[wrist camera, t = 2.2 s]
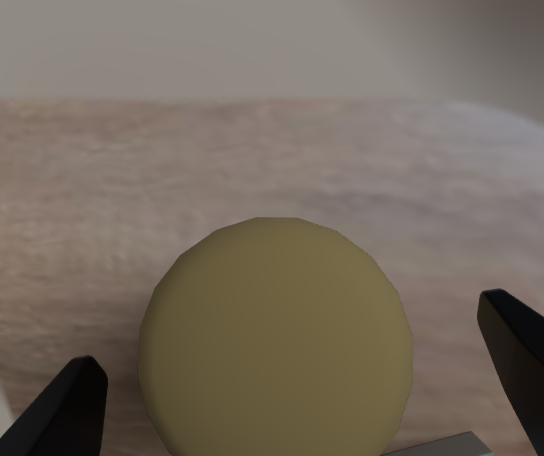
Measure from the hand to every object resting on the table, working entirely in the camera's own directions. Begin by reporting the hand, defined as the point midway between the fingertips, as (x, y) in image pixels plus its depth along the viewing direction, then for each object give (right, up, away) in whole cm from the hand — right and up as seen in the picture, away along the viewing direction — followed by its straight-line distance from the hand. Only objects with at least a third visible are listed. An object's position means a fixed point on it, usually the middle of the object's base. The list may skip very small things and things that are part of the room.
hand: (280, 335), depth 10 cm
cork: (+1, -1, +8) cm, 8 cm away
